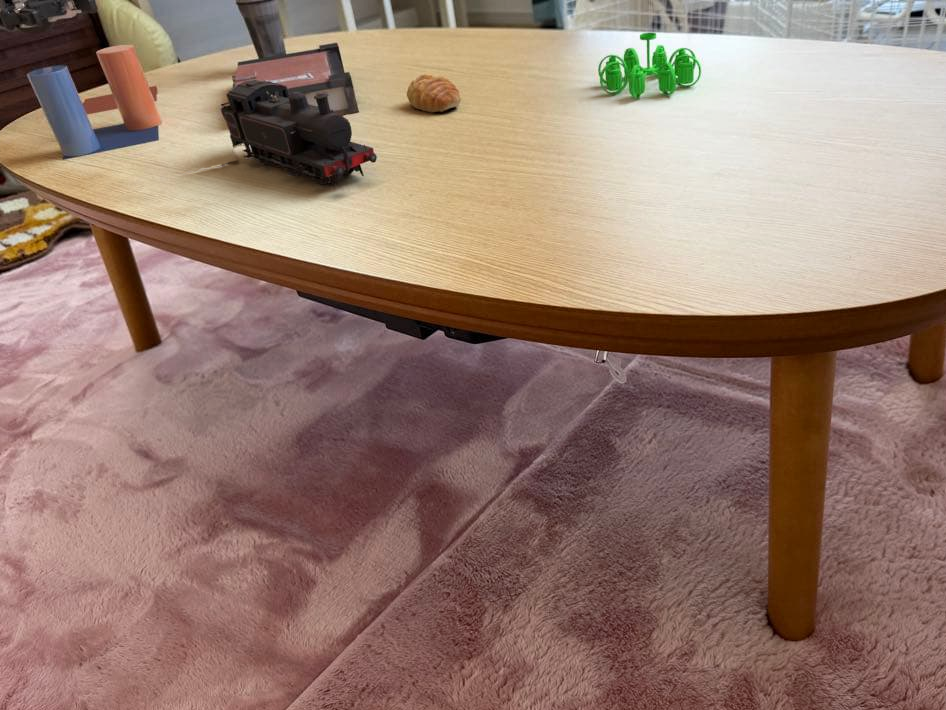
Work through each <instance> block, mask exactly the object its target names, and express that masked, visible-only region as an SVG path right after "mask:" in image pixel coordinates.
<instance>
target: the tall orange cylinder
mask: <svg viewBox="0 0 946 710" xmlns="http://www.w3.org/2000/svg"><path fill="white" fill-rule="evenodd" d="M95 53H96V56H97V59H98V61H99V62H98V63H99V64H100V66H101V69H102V71H103V75H104V76H105V79H106V81H107V84H108V86H109V89H110V92H111V94H113V97H114V99H115V102H116V104H117V107H118V109H117V110H118V111H119V115H120V117H121V119H122V121H123V122H122V123H124V124H125V127H126V129H127V130H129V131H139V130H145V129H149V128H153V127H155V126H158V127H159V126H160V125H161V124H162V123H163V120H162V118H161V115H160V113H159V110H158V107H157V104H156V101H155V102H154V99H153V96H152V93H151V91H150V88H149V87H150V86H149V82H148V80H147V77H146V75H145V72H144V69H143V67H142V63H141V61H140V59H139V56H138V53H137V50H136V48H135V45H133V44H121V45H112V46H109V47H105V48H102V49H98V50H97V51H96V52H95Z"/></svg>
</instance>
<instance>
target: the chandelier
mask: <svg viewBox="0 0 946 710" xmlns="http://www.w3.org/2000/svg"><path fill="white" fill-rule="evenodd" d="M655 39H657V33H656V32H643V33H641V34H640V35H639V40H641V41H646V63H647V64H646V67H643V66H642V65H641V64H640V58H639V55H638V52H637V50H635V48H633V47H629V48H625V50H624V53H623V58H622V57H621V56H620V55H617V54H608V55H606V56H604V57H603V58H602V59H601V60H600V62H599V64H598V68H597V71H598V76H599V84H600V87H601V89H602V90H603V91H604V92H605V93H607V94H608V95H618V94H620V93H622V92H623V91H624V90H625V88H626V87H627V86H628V92H629V94H630V95H631V97H632V98H633V99H639V98H640V97H641V95H643V94H645V92H646V77H645V76H654V75H655V77H657V80H658V90H659V91H660V92H662V94H663V95H664V96H666V97H667V96H672V95H674V93H675V91H676V88H677V86H678V87H680V88H684V89H685V88H687V89H688V88H690V87H693V86H695V84H697V83H698V81H699V80H700V78H701V75H702V66H701V63H700V61H699V60H698V59H697V58H696V55H695V53H694V51H692V50H691V49H690V48H687V47H680V48H678V49H675V51H674V52H672V54H671V55H670V57H669V60H668V55H667V51H666V50H665V49H666V48H665V47H664V45H663V44H658V45H656V47H655V51H653V52H652V57H651V54H650V53H651V51H650V47H651V46H650V41H652V40H655ZM686 51H688V52H689V53H690V54H691V55H690V54H689V53H686ZM606 59H608V60H607V61H605V60H606ZM673 59H674V60H673ZM690 59H691V60H690ZM604 61H605V66H604V67H603V68H602V64H603V62H604ZM696 65H697V68H698V76H697V79H696V80H694V78H695V77H694V76H695V68H696ZM621 67H622V68H623V73H624V76H623V73H622V69H621ZM604 75H605V78H604ZM623 82H624V83H623ZM604 84H605V85H606V88H607V89H606V88H605V86H604Z"/></svg>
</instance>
